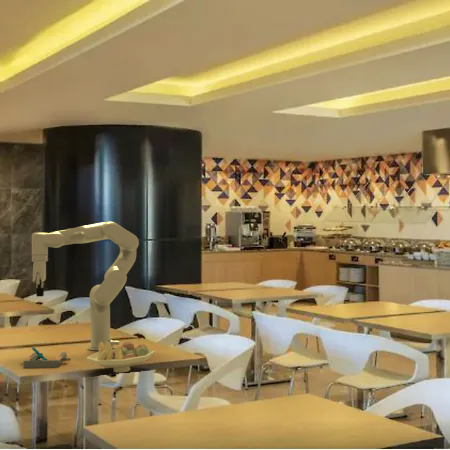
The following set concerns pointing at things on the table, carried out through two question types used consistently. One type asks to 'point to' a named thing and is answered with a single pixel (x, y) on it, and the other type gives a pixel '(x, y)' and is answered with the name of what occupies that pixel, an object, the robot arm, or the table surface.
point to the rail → (44, 361)
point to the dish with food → (120, 356)
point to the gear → (38, 354)
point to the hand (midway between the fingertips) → (40, 296)
